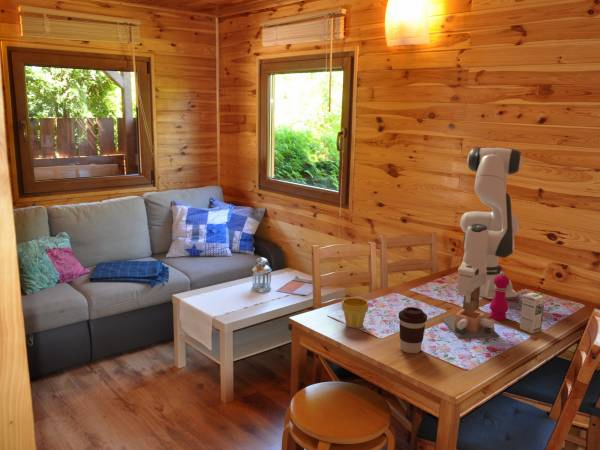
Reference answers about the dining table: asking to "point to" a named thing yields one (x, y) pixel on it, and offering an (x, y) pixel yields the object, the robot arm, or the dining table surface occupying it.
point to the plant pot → (354, 311)
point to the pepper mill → (499, 298)
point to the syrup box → (532, 312)
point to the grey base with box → (470, 325)
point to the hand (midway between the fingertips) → (471, 300)
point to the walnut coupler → (472, 301)
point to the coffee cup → (412, 329)
